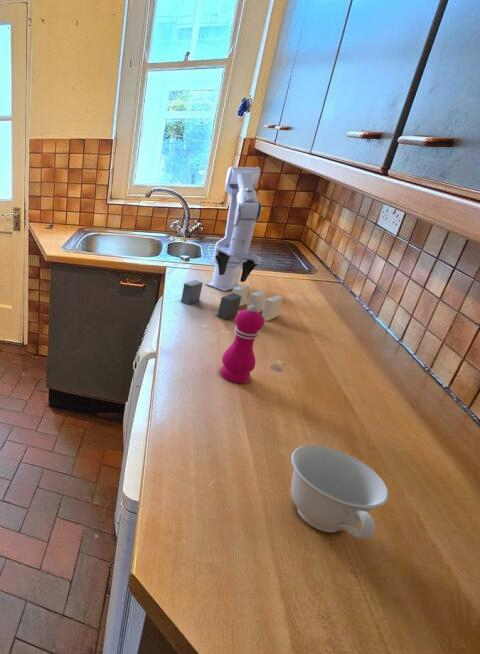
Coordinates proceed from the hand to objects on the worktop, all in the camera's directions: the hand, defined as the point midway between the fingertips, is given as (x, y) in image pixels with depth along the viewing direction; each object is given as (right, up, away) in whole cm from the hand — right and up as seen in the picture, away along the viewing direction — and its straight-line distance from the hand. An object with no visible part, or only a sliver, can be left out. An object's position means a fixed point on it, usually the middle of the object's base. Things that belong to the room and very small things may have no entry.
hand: (232, 277), depth 139 cm
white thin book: (+2, -10, +1) cm, 10 cm away
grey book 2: (-5, -13, -5) cm, 15 cm away
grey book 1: (-12, -8, +6) cm, 15 cm away
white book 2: (+8, -13, -7) cm, 17 cm away
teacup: (-27, -45, -73) cm, 90 cm away
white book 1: (+5, -12, -3) cm, 13 cm away
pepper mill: (-20, -28, -36) cm, 49 cm away
